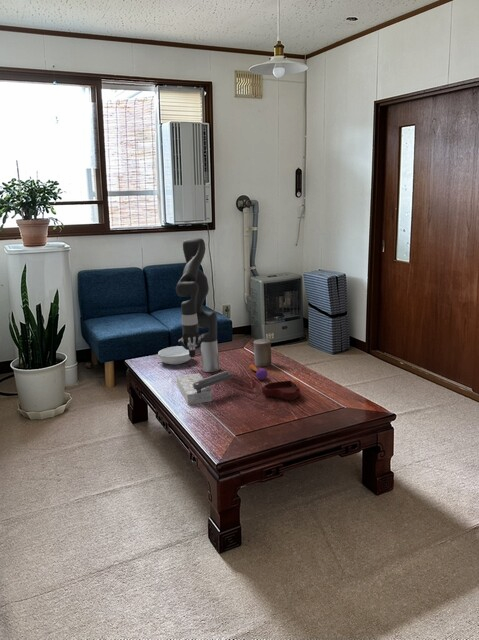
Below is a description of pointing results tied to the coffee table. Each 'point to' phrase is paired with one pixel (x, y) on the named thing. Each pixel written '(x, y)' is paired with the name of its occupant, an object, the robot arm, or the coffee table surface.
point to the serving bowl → (174, 355)
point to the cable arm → (212, 380)
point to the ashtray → (281, 390)
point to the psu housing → (189, 392)
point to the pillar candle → (262, 352)
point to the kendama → (259, 372)
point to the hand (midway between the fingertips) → (192, 357)
